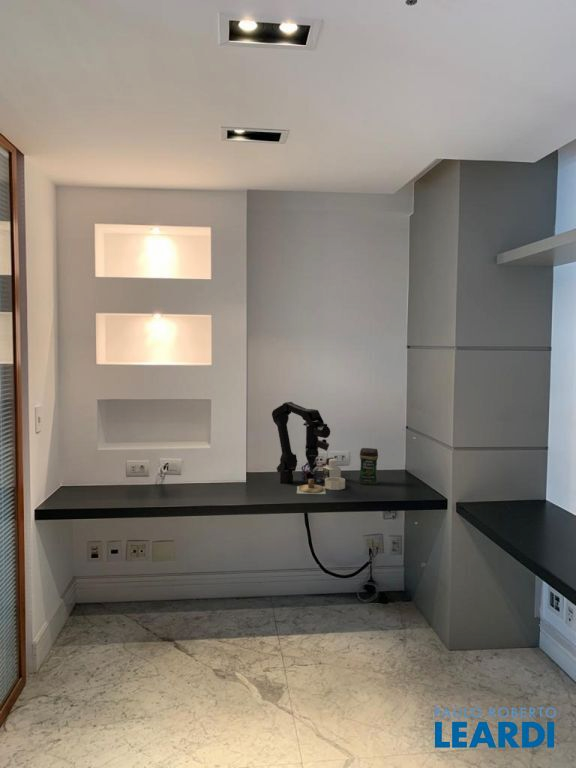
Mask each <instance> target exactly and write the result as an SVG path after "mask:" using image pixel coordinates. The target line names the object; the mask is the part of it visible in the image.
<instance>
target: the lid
mask: <svg viewBox="0 0 576 768" xmlns="http://www.w3.org/2000/svg"><path fill="white" fill-rule="evenodd" d="M307 480H308V484H302V485H299V486H300V487H299V491H301V492H305V493H319V492H322V491H323V487H322V485H320V484H315V478H308V479H307Z"/></svg>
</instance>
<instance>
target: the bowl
mask: <svg viewBox="0 0 576 768" xmlns="http://www.w3.org/2000/svg"><path fill="white" fill-rule="evenodd" d="M324 486H325V489H327V490H332V491H334V490H335V491H339V490H343V489H346V479H345V478H343V477H341V478H340V477H329V478H325V480H324Z"/></svg>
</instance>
